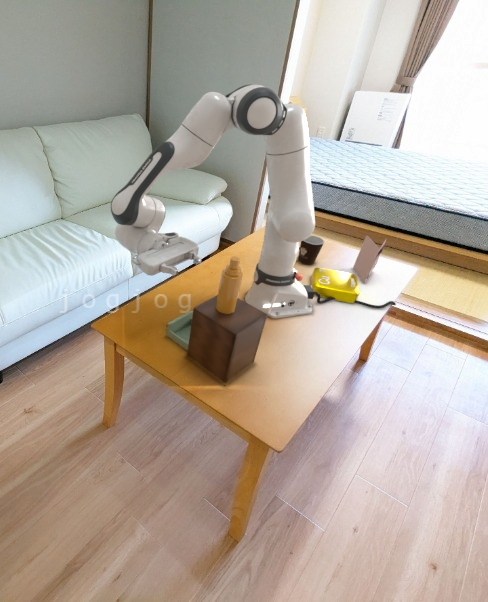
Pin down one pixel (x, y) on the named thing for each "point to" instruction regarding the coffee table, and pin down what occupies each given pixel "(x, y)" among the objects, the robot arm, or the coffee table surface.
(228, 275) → the bottle
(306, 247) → the coffee mug
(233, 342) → the cabinet
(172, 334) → the green pull-out drawer
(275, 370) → the coffee table surface
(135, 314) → the coffee table surface
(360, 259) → the greeting card
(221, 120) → the robot arm
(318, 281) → the element tile
